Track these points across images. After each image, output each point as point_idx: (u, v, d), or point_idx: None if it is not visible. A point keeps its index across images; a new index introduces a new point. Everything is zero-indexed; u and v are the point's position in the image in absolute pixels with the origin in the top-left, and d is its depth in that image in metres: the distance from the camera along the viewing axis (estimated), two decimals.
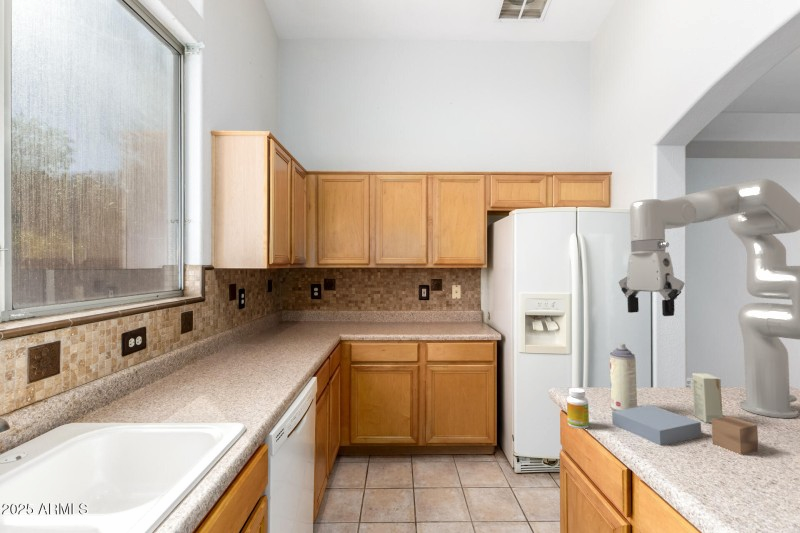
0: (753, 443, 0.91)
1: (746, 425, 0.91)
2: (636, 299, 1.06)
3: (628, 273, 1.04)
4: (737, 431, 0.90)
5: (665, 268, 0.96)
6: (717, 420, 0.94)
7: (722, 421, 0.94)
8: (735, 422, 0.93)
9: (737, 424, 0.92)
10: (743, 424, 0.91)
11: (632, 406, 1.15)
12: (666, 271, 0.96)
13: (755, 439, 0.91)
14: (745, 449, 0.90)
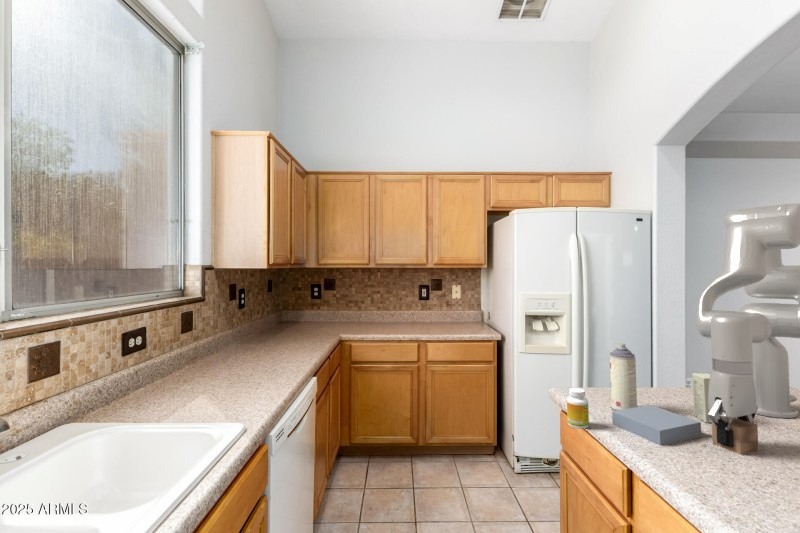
0: (754, 443, 0.91)
1: (746, 425, 0.91)
2: None
3: (731, 399, 0.90)
4: (737, 431, 0.90)
5: None
6: None
7: None
8: (736, 421, 0.93)
9: (737, 424, 0.92)
10: (743, 424, 0.91)
11: (632, 406, 1.15)
12: None
13: (755, 439, 0.91)
14: (745, 449, 0.90)
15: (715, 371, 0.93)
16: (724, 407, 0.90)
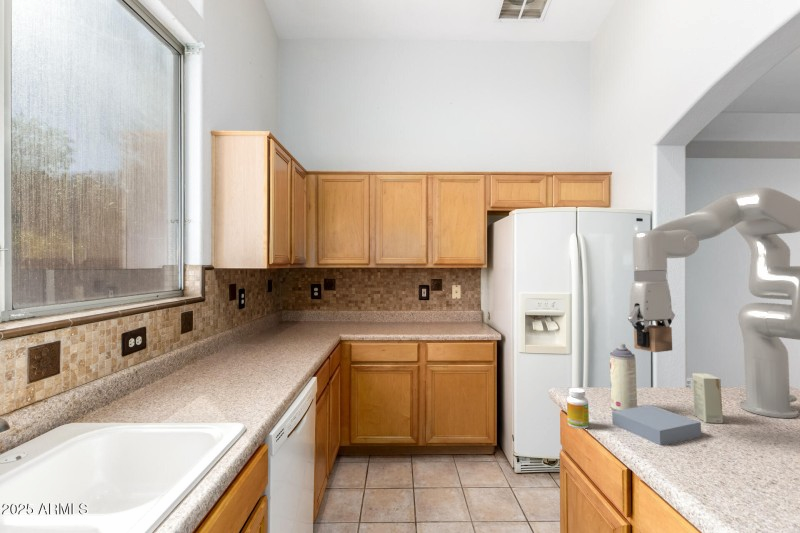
0: (668, 343, 1.01)
1: (661, 327, 1.02)
2: None
3: (646, 303, 1.01)
4: (652, 331, 1.00)
5: None
6: None
7: None
8: (654, 326, 1.04)
9: (654, 327, 1.02)
10: (659, 327, 1.02)
11: (632, 406, 1.15)
12: None
13: (669, 340, 1.02)
14: (659, 347, 1.01)
15: (635, 281, 1.04)
16: (641, 311, 1.01)
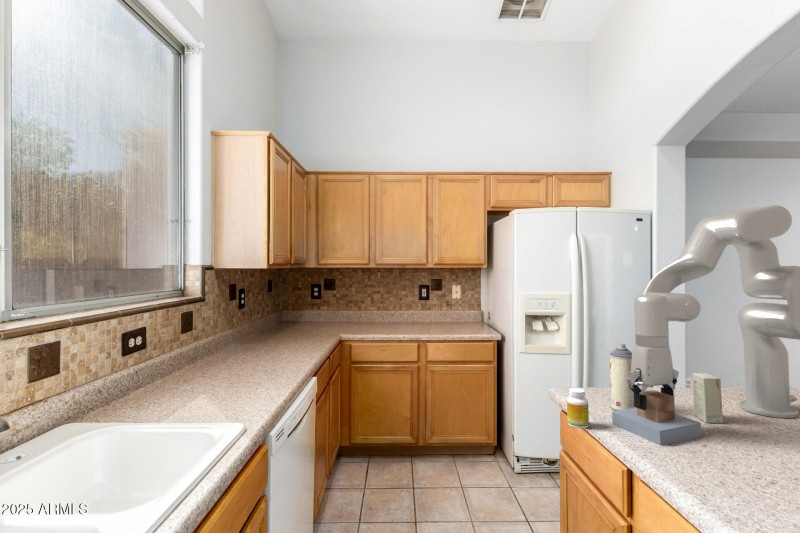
0: (670, 413, 1.01)
1: (664, 397, 1.01)
2: None
3: (648, 369, 1.01)
4: (655, 401, 1.00)
5: None
6: None
7: (645, 393, 1.04)
8: (656, 394, 1.04)
9: (656, 396, 1.02)
10: (662, 396, 1.02)
11: (632, 406, 1.15)
12: None
13: (672, 409, 1.01)
14: (662, 417, 1.00)
15: (637, 345, 1.04)
16: (642, 377, 1.01)
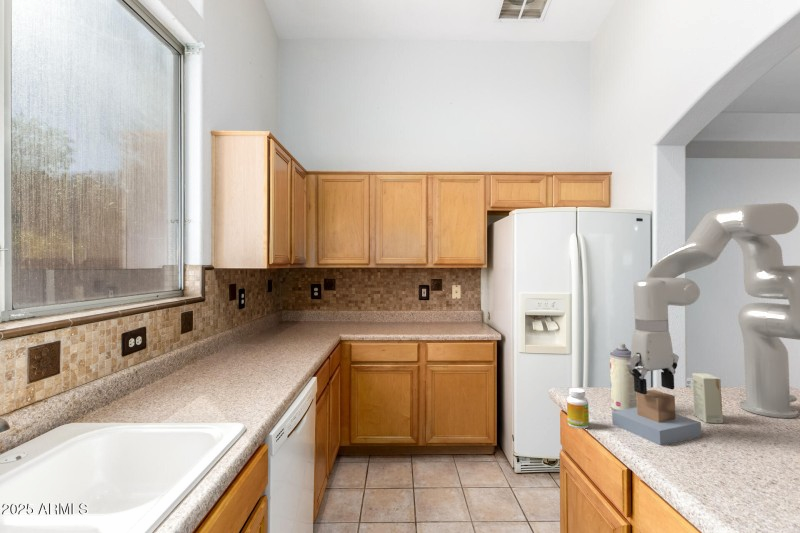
0: (671, 412, 1.01)
1: (664, 396, 1.01)
2: None
3: (648, 353, 1.01)
4: (656, 401, 1.00)
5: None
6: None
7: None
8: (657, 393, 1.04)
9: (657, 395, 1.02)
10: (662, 395, 1.02)
11: (632, 406, 1.15)
12: None
13: (672, 408, 1.02)
14: (663, 417, 1.00)
15: (637, 330, 1.04)
16: (642, 361, 1.01)
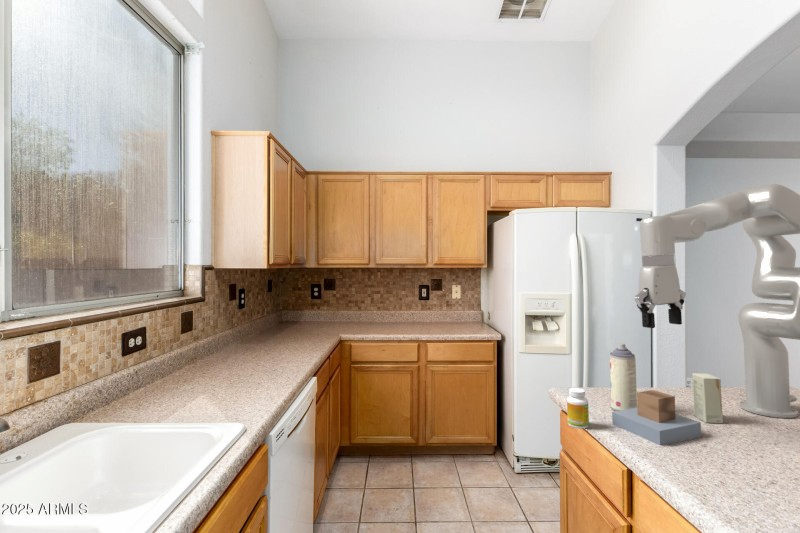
0: (671, 413, 1.01)
1: (665, 397, 1.01)
2: None
3: (655, 287, 1.02)
4: (656, 401, 1.00)
5: None
6: (641, 393, 1.05)
7: (645, 393, 1.04)
8: (657, 394, 1.04)
9: (657, 396, 1.02)
10: (662, 396, 1.02)
11: (632, 406, 1.15)
12: None
13: (673, 409, 1.01)
14: (663, 417, 1.00)
15: (644, 267, 1.06)
16: (650, 295, 1.03)
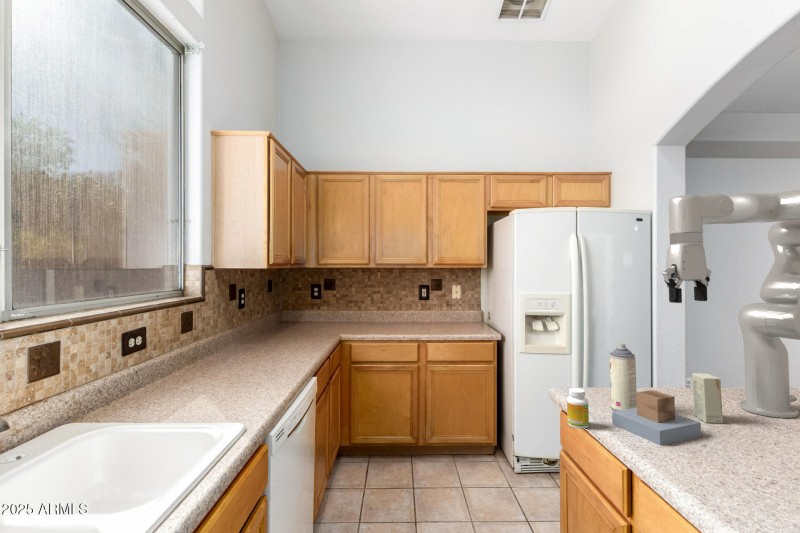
0: (670, 413, 1.01)
1: (664, 397, 1.01)
2: None
3: (683, 263, 1.05)
4: (655, 401, 1.00)
5: None
6: (641, 393, 1.05)
7: (645, 393, 1.04)
8: (656, 394, 1.04)
9: (656, 396, 1.02)
10: (662, 396, 1.02)
11: (632, 406, 1.15)
12: None
13: (672, 409, 1.01)
14: (662, 418, 1.00)
15: (672, 244, 1.09)
16: (678, 271, 1.06)
